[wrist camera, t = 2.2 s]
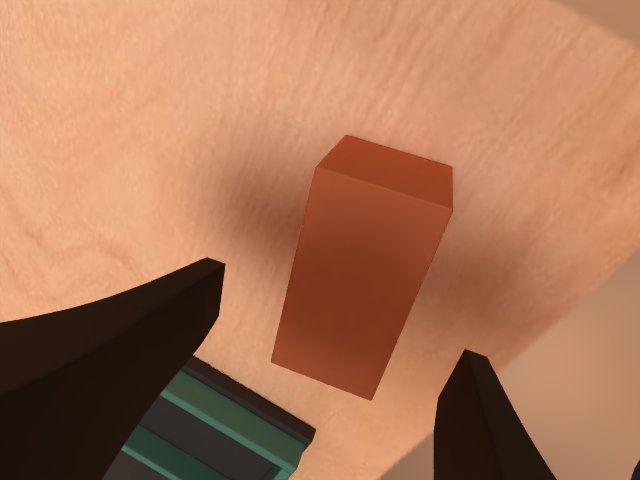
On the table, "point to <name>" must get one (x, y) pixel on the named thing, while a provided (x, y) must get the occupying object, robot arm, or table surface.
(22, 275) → the table surface
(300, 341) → the pad piece
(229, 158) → the table surface
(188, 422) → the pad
